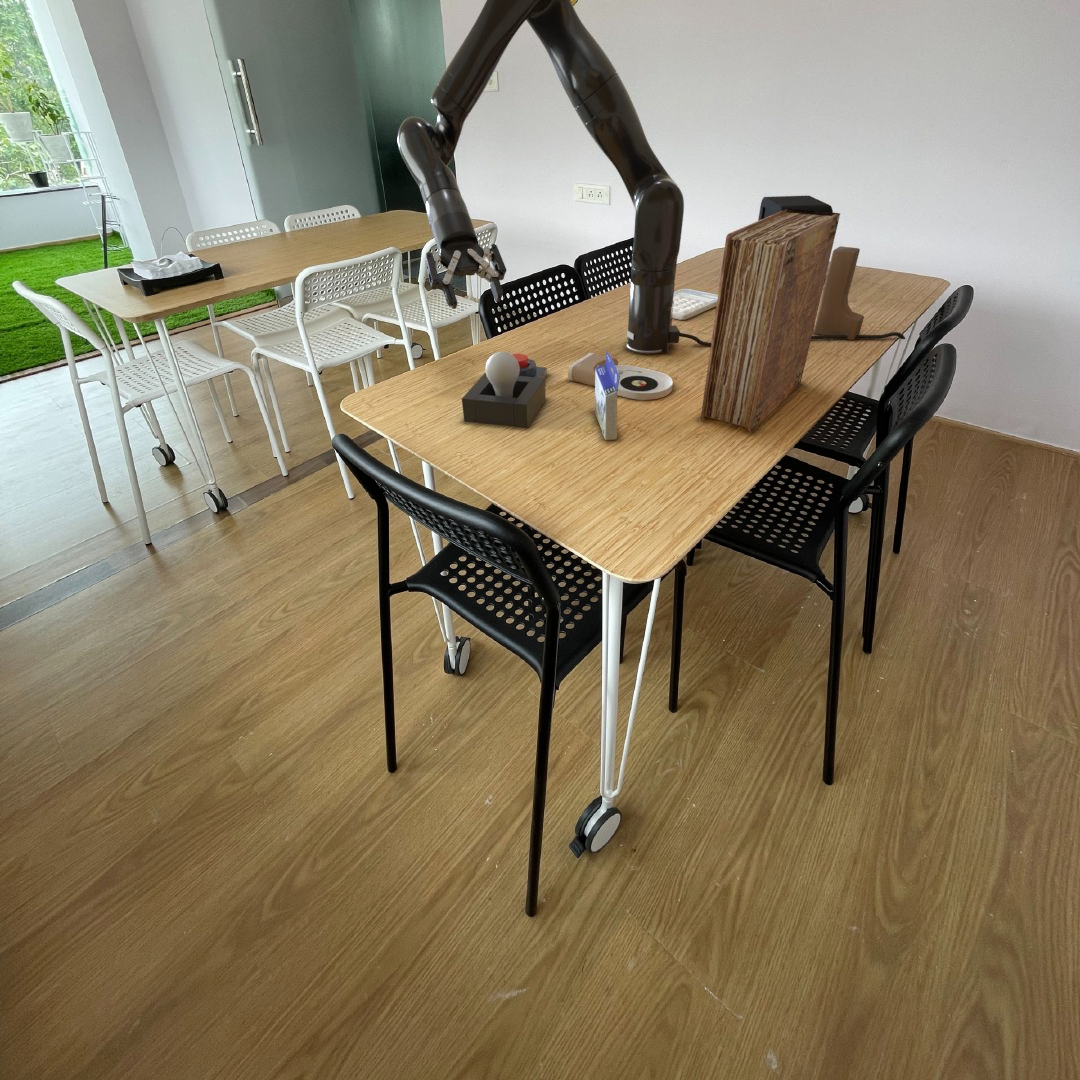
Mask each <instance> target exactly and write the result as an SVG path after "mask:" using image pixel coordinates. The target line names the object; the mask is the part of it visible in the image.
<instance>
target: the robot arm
mask: <svg viewBox="0 0 1080 1080" xmlns="http://www.w3.org/2000/svg"><path fill="white" fill-rule="evenodd" d="M525 22H527V24H528V25H529V26H530V27H531V29H532V30H533V32H534V33H535V35H536V36H537V38H538V39H539V41H540V42H541V44H542V45H543V47H544V49H545V51H546V52H547V54H548V57H549V59H550V60H551V63H552V65H553V68H554V70H555V72H556V74H557V76H558V78H559V81H560V83H561V85H562V88H563V89H564V91H565V94H566V95H567V97H568V99H569V101H570V103H571V105H572V107H573V109H574V110H575V113H576V114H577V116H578V117H579V119H580V121H581V122H582V124H583V126H584V128H585V130H586V131H587V132H588V134H589V135H590V137H591V138H592V139H593V141H594V143H595V144H596V145H597V147H598V148H599V149H600V150H601V152H602V153H603V154H604V155H605V157H606V158H607V159H608V160H609V161H610V162H611V164H612V165H613V167H614V168H615V169H616V172H617V173H618V175H619V177H620V178H621V180H622V182H623V184H624V187H625V188H626V191H627V193H628V195H629V198H630V200H631V203H632V204H633V208H634V212H635V214H634V229H633V230H634V232H633V246H632V253H631V271H630V285H629V286H630V288H629V303H628V304H629V305H628V319H627V320H628V322H627V330H626V340H627V341H626V349H627V350H628V351H630V352H632V353H635V354H640V355H659V354H667V353H668V351H669V348H670V344H679V342H680V338H686V339H690V340H693V341H695V342H696V343H697V344H699V345H700V346H705V347H711V342H708V341H703V340H701V339H700V338H698V337H697V336H695V335H692V334H689V333H683V332H681V331H680V329H679V328H678V326H677V325H673V318H672V316H673V306H674V302H673V296H674V292H675V285H676V273H677V266H678V265H677V264H678V257H679V253H680V248H681V240H682V232H683V224H684V223H683V222H684V214H685V213H684V212H685V199H684V195H683V192H682V189H680V187H679V186H678V184H677V183H676V182H675V180H674V179H673V178H672V177H671V175H670V174H669V173H668V171H667V170H666V169H665V168H664V166H663V164H662V163H661V162H660V160H659V158H658V156H656V154H655V152H654V150H653V149H652V147H651V145H650V143H649V141H648V139H647V136H646V134H645V130H644V128H643V126H642V122H641V120H640V117H639V114H638V112H637V110H636V107H635V105H634V103H633V100H632V98H631V96H630V94H629V91H628V90H627V88H626V86H625V85H624V83H623V80H622V78H621V77H620V74H619V72H618V71H617V69H616V68H615V66H614V65H613V63H612V61H611V60H610V58H609V57H608V55H607V54H606V52H605V51H604V49H603V48H602V46H601V45H600V44H599V43H598V41H597V40H596V39H595V38H594V36H593V35H592V34H591V32H590V31H589V30H588V29H587V28H586V26H585V25H584V23H583V22H582V20H581V18H580V17H579V15H578V12H577V11H576V10H575V7H574V5H573V3H572V0H486V1H485V2H484V5H483V6H482V8H481V11H480V12H479V14H478V17H477V19H476V20H475V22H474V24H473V25H472V27H471V29H470V31H469V32H468V34H467V35H466V37H465V38H464V40H463V42H461V45H460V46H459V48H458V49H457V51H456V53H455V54H454V56H453V57H452V59H451V61H450V62H449V64H448V66H447V67H446V69H445V70H444V72H443V74H442V75H441V77H440V79H439V81H438V82H437V84H436V86H435V87H434V89H433V91H432V92H431V96H430V102H431V105H432V106H433V108H434V109H435V111H436V112H437V118H436V122H435V125H434V126H433V125H432V124H431V123H429V121H426V120H425V119H424V118H422V117H421V116H420V117H419V116H414V115H413V116H409V117H406V118H405V119H404V120H403V121H402V122H401V124H400V126H399V129H398V131H397V145H398V150H399V153H400V155H401V158H402V159H403V162H404V164H405V165H406V168H407V169H408V171H409V172H410V174H411V176H412V178H413V180H414V181H415V182H416V184H417V186H418V188H419V190H420V194H421V198H422V200H423V204H424V206H425V210H426V214H427V215H426V216H427V219H428V224H429V228H430V229H431V232H432V235H433V238H434V241H435V244H436V247H437V250H438V253H439V254H433V253H432V252H431V251H427V252H426V253H425V258H424V265H425V269H426V274H427V277H428V281H429V284H430V288H431V290H432V291H433V290H434V291H436V290H441V291H442V292H443V296H444V298H445V301H446V304H447V306H448V307H451V309H452V310H455V309H457V307H458V299H457V296H456V293H455V291H454V287H453V285H452V282H453V280H454V277H455V276H456V277H458V278H462V277H466V276H469V277H470V276H475V275H477V276H478V277H479V278H480V279H485V281H487V282H488V283H489V286H490V290H491V293H492V295H493V299H494V302H495V303H499V302H501V300H502V298H503V296H504V290H503V287H502V284H501V281H503V280H504V279H505V276H506V273H507V267H506V265H505V262H504V260H503V257H502V255H501V252H500V250H499V248H498V246H497V244H495V243H492V244H491V245H490V247H486V248H482V246H481V245H480V244H479V240H478V236H477V233H476V230H475V228H474V225H473V222H472V218H471V216H470V213H469V210H468V207H467V205H466V202H465V200H464V198H463V197H462V196H463V195H462V194H461V190H460V187H459V185H458V182H457V179H456V176H455V174H454V173H453V171H452V169H451V168H450V167H449V164H450V163H451V161H452V159H453V157H454V155H455V152H456V149H457V146H458V143H459V140H460V137H461V134H462V131H463V128H464V124H465V122H466V120H467V118H468V117H469V115H470V114H471V112H472V111H473V109H474V108H475V106H476V104H477V103H478V101H479V100H480V98H481V96H482V95H483V93H484V91H485V89H486V88H487V86H488V85H489V82H490V81H491V78H492V76H493V74H495V73H494V72H495V70H496V68H497V66H498V65H499V63H500V61H501V59H502V58H503V55H504V53H505V51H506V49H507V48H508V46H509V45H510V43H511V41H512V39H513V38H514V37H515V35H516V34H517V32H518V31H519V29H521V27H522V26H523V24H525ZM484 257H485V258H487V260H485V259H484ZM489 262H491V265H492V266H491V265H490V263H489ZM439 263H440V264H441V265H442V266H443V267H444V268H445V269H446V271H445V274H444V277H443V278H439V277H440V276H439V274H438V265H439ZM890 337H898V338H899V339H900V340H906V336H905V335H904V334H902V333H901V332H898V331H892V332H888V333H884V334H859V335H856V337H855V339H858V340H859V339H861V340H867V339H868V340H872V339H873V340H876V339H877V340H878V339H884V338H890ZM844 338H848V336H847V335H820V334H816V335H812V337H811V340H832V339H833V340H835V339H837V340H839V339H841V340H842V339H843V340H845V339H844ZM855 339H854V340H855Z"/></svg>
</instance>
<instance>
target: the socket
mask: <svg viewBox="0 0 1080 1080" xmlns="http://www.w3.org/2000/svg"><path fill="white" fill-rule="evenodd" d="M546 398H547V397H546V377H545V378H538V377H526V376H518V378H517V381H516V382H515V384H514V388H513V397H501V396H496V394H495V390H494V388H493V385H492V384H491V382H490V381H489V379H488V377H487V375H486V372H484V373H483V374H482V375H481V377H480V378H479V379H477V381H476V382H475V383H474V385H472V387H471V388H470V389H469V390H468V391H467V392H466V393H465V394H464V396H462V398H461V407H462V415H463V422H464V423H470V424H471V423H473V424H481V425H483V424H484V425H493V426H501V427H503V426H504V427H511V428H521V429H528V428H529V427H530V425H531V424H532V422H533V421H534V419H535V418H536V416H537V415H538V413H539V411H540V410H541V408H542V407H543V405H544V404H545V402H546V400H547V399H546Z"/></svg>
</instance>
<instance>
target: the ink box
mask: <svg viewBox="0 0 1080 1080" xmlns="http://www.w3.org/2000/svg"><path fill="white" fill-rule="evenodd" d="M605 356H606V365H603V366H601V367H598V368H596V369H595V386H594V414H595V416H596V420H597V422H598V425H599V427H600V430H601V433H602V436H603V438H604V440H605V441H613V440H614V441H615V440H617V439H618V395H617V392H618V385H619V379H620V375H619V373H618V371H617V369H616V367H615V365H614V362H613V360H612V358H613V357H612V356H611V354H610V353H609V351H608V349H607V350H605ZM611 357H612V358H611ZM611 368H613V372H614V375H613V373H612V371H611Z"/></svg>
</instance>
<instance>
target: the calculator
mask: <svg viewBox="0 0 1080 1080" xmlns="http://www.w3.org/2000/svg"><path fill="white" fill-rule="evenodd" d="M717 299H718V294H715V293H710V292H705V291H700V290H694V289H690V288H682V289H678V290H676V291H674V296H673V302H674V306H673V316H672V319H675V320H680V321H685V320H688V319H690V318H693V317H695V316H697V315H700V314H702V313H705V312H707V311H709V310H710V309H711V310H712V309H713V308H716V306H717Z"/></svg>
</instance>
